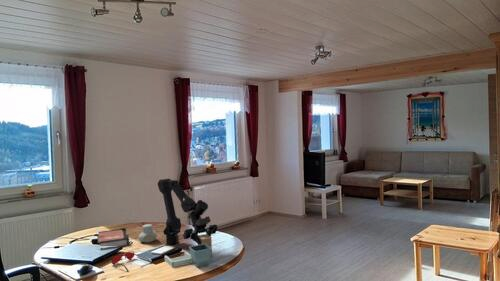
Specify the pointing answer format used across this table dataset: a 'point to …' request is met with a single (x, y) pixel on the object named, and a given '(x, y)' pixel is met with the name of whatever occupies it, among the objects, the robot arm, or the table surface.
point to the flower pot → (200, 254)
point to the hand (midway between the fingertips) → (205, 245)
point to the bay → (179, 260)
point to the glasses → (128, 255)
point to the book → (113, 238)
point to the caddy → (206, 241)
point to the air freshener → (147, 234)
